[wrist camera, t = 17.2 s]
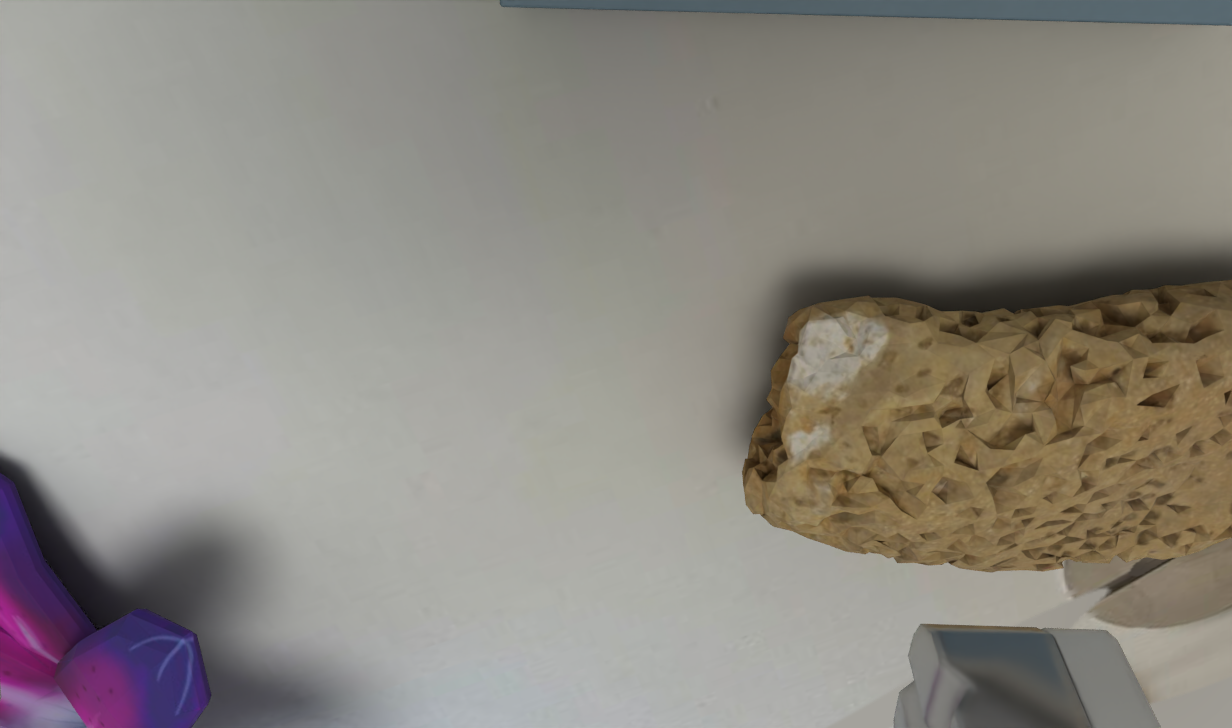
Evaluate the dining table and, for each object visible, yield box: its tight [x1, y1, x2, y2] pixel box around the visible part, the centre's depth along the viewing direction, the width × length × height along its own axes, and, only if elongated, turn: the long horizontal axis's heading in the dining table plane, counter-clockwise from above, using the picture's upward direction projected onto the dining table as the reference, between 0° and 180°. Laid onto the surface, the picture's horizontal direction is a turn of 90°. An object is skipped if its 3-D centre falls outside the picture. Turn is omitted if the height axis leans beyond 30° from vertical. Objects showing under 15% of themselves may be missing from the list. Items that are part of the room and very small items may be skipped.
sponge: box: [742, 280, 1232, 572], centre depth 36 cm, size 13×8×20 cm
